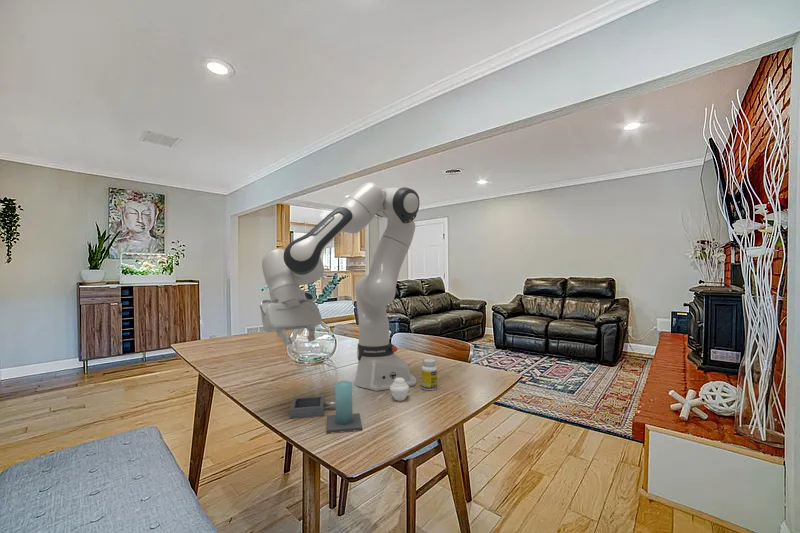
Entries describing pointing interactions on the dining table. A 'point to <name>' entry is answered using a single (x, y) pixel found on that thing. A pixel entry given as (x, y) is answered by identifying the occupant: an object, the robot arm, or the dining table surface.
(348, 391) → the teal peg
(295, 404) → the socket
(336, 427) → the rubber mat
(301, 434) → the dining table surface
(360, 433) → the dining table surface
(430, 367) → the supplement bottle
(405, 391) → the muffin
